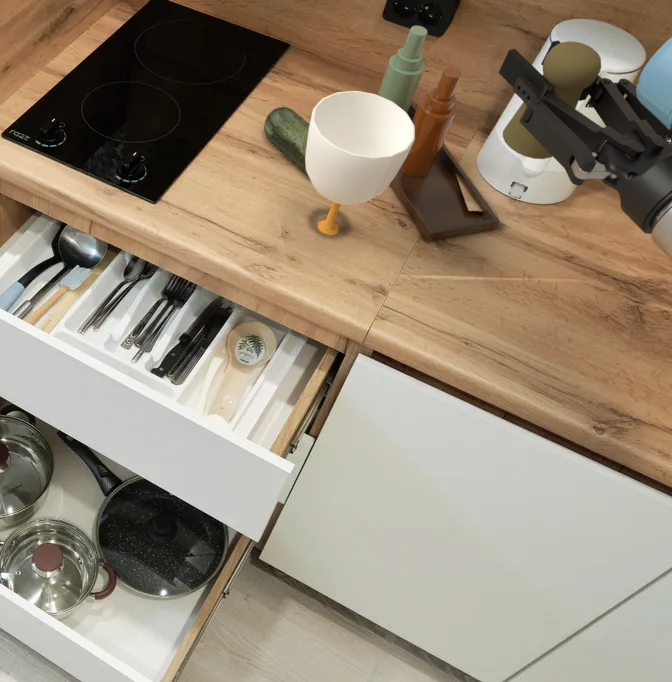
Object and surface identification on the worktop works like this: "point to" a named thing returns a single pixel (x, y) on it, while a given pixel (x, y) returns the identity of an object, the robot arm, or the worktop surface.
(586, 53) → the olive pepper shaker
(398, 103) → the sage bottle
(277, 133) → the vegetable
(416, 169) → the amber bottle
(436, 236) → the tray
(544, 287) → the worktop surface
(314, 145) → the cup
